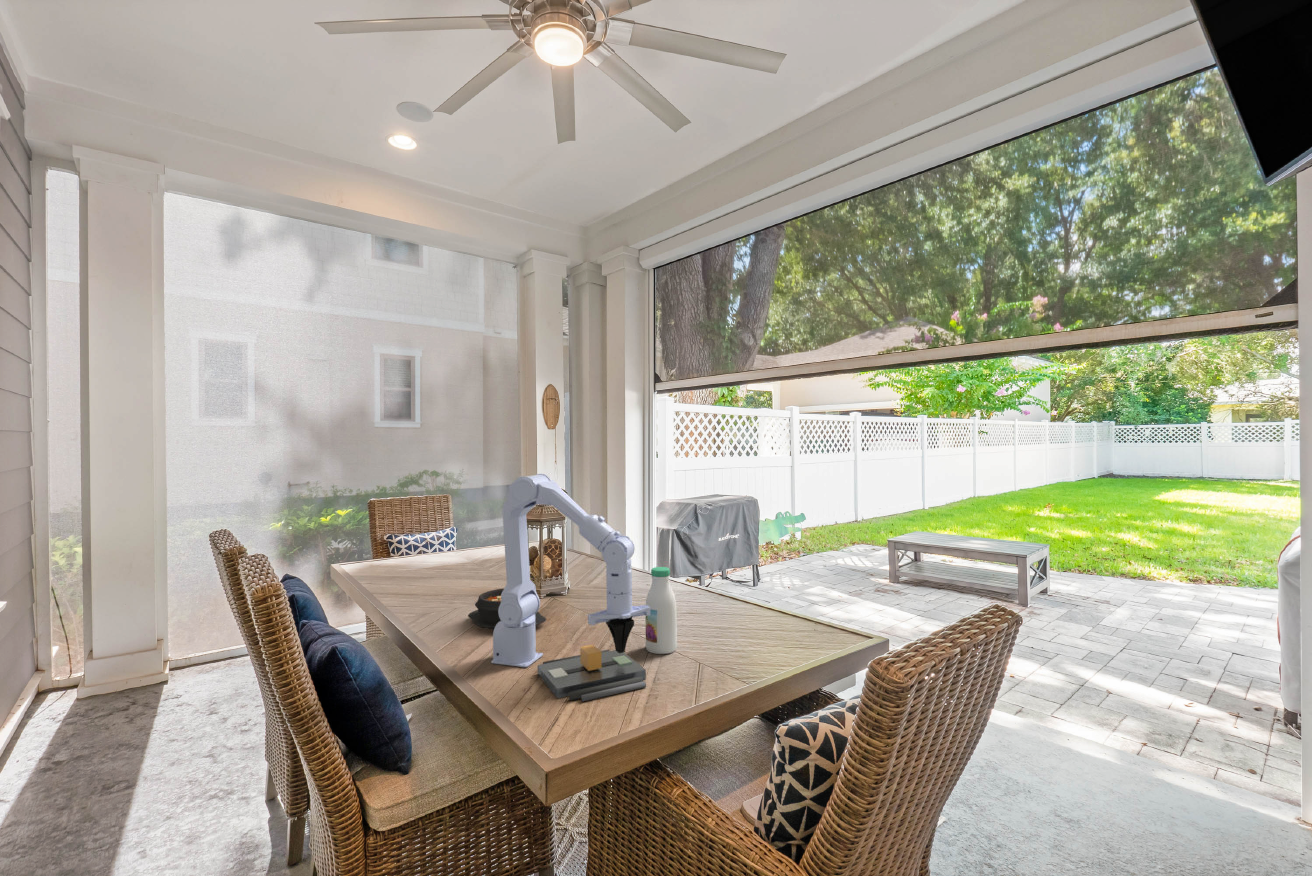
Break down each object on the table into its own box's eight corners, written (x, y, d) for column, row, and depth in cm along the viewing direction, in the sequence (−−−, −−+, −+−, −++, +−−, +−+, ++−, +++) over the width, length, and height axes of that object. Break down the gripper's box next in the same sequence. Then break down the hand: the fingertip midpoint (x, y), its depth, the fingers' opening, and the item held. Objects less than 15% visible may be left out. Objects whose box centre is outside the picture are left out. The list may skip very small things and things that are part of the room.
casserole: (561, 623, 168) (561, 593, 168) (508, 642, 153) (508, 609, 153) (505, 608, 183) (504, 581, 183) (451, 624, 169) (451, 594, 168)
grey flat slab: (557, 698, 120) (556, 687, 120) (537, 673, 133) (537, 663, 133) (645, 678, 129) (645, 668, 129) (619, 657, 142) (619, 647, 142)
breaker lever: (588, 670, 128) (588, 654, 128) (580, 662, 132) (580, 646, 132) (601, 668, 129) (601, 651, 129) (593, 660, 134) (592, 644, 134)
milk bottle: (675, 643, 151) (675, 564, 151) (678, 654, 143) (677, 571, 143) (645, 644, 151) (644, 565, 151) (646, 655, 143) (645, 572, 143)
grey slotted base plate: (573, 704, 117) (573, 696, 117) (542, 667, 136) (542, 660, 136) (646, 688, 125) (646, 680, 125) (607, 655, 143) (607, 648, 143)
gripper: (595, 599, 127) (596, 663, 127) (656, 590, 134) (657, 651, 134) (584, 592, 133) (585, 652, 134) (642, 583, 140) (643, 641, 140)
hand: (620, 651), depth 134 cm, fingers closed
